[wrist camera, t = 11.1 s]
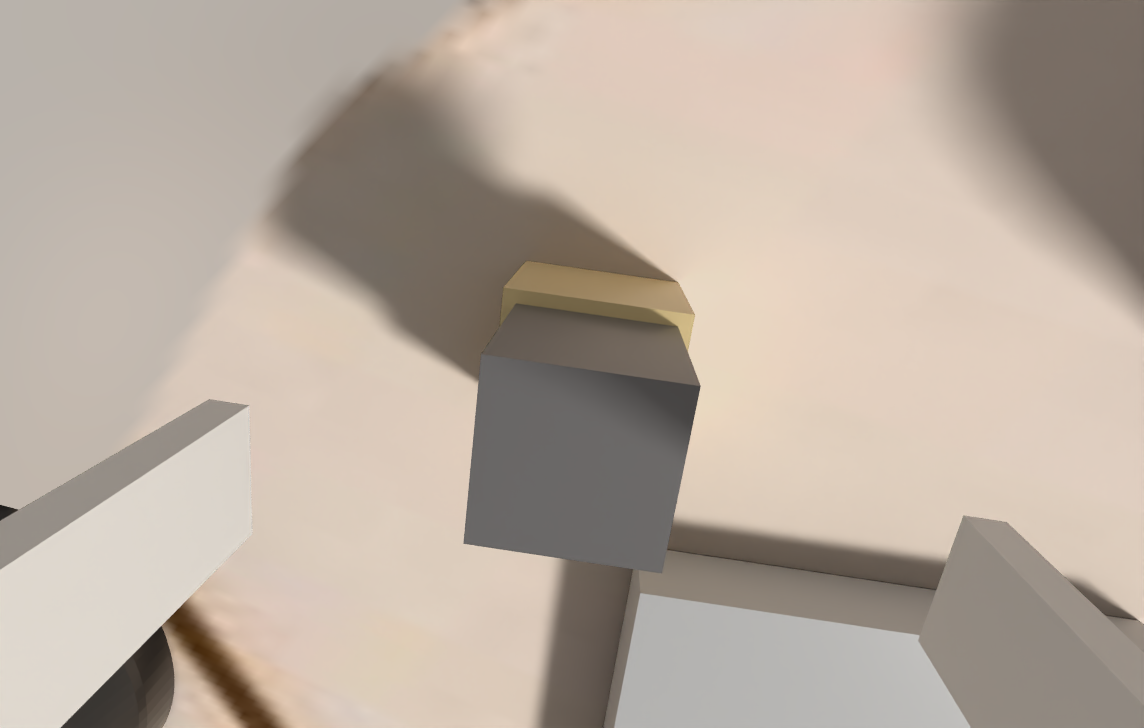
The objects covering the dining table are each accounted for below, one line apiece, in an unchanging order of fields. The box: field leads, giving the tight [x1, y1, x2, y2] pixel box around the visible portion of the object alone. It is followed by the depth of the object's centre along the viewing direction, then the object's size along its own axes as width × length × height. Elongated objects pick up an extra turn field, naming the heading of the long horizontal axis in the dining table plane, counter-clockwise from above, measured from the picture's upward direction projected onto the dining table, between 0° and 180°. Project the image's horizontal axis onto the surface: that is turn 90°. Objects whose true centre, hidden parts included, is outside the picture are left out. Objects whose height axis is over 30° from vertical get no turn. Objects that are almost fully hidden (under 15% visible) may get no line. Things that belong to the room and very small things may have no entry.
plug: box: [464, 261, 700, 574], centre depth 19 cm, size 5×5×10 cm
